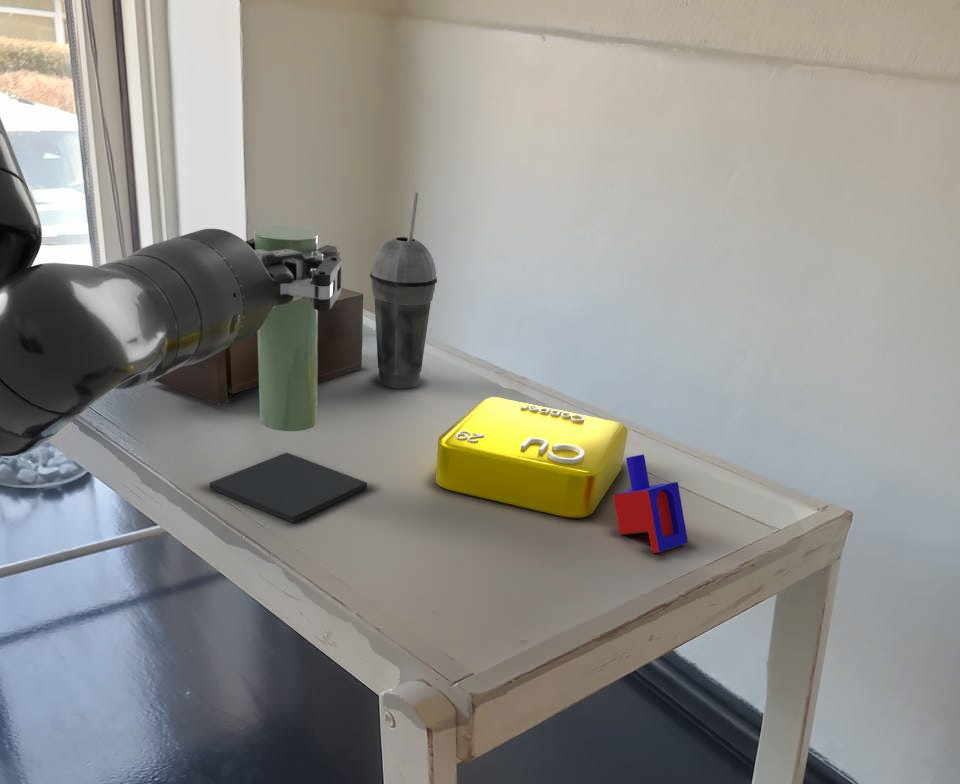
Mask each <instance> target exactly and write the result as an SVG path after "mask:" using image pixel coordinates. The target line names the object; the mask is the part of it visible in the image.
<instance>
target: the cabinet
mask: <svg viewBox="0 0 960 784" xmlns="http://www.w3.org/2000/svg"><path fill="white" fill-rule="evenodd" d="M363 323H364V293H362V292H359V291H355V290H351V289H347V288H344V287H341V294H340V296H339V297H338V299H337V300H336V302H335V303H334V305H333V306H332V307H331V309H330V310H326V311H319V310H318V384H321V383H323V382H328V381H329V380H333V379H336V378H338V377H342V376H345V375H349V374H351V373H354V372H357V371H360V370H362V367H363V329H364V328H363V325H364V324H363Z"/></svg>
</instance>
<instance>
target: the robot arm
mask: <svg viewBox="0 0 960 784" xmlns="http://www.w3.org/2000/svg"><path fill="white" fill-rule="evenodd" d="M20 166H21V165H20V163H19V161H18V158H17V156H16V153H15V151H14V148H13V145H12V143H11V140H10V138H9V136H8V133H7V130H6V128H5V126H4V124H3V121H2V118H1V117H0V457H1V458H2V457H6V458H7V457H9V458H10V457H17V456H21V455H25V454H27V453H30V452H32V451H34V450H35V449H38V448H39V447H41V446H42V445H44V444H45V443H47V441H49V440H50V439H51V438H53V437H54V435H56V434H57V433H58V432H60V431H61V430H62V429H63V428H64V427H65V426H67V425H68V424H69V423H71V422H72V421H73V420H74V419H76V418H77V417H78V416H79V415H81V414H83V412H85V411H86V410H87V409H88V408H89V407H91V406H92V405H94V404H95V403H96V402H97V401H98V400H100V399H101V398H103V397H104V396H106V395H107V394H108V393H110V392H111V391H113V390H129V389H134V388H137V387H142V386H144V385H147V384H149V383H151V382H153V381H154V380H156V379H158V378H160V377H162V376H164V375H166V374H168V373H170V372H172V371H174V370H176V369H178V368H180V367H184V366H188V365H192V364H196V363H198V362H200V361H203V360H205V359H207V358H209V357H211V356H213V355H215V354H217V353H219V352H221V351H223V350H225V349H227V348H229V347H230V346H232V345H234V344H236V343H238V342H240V341H242V340H244V339H246V338H248V337H250V336H252V335H253V334H254V333H256V332H257V331H258V330H259V329H260V327H261V326H262V325H263V323H264V322H265V320H266V318H267V316H268V315H269V313H270V311H271V309H273V308H275V307H276V305H282V304H287V303H290V302H291V301H296V300H300V299H302V298H303V297H306V298H310V303H311V304H313V308H314V309H316V310H319V311H326V310H330V309H331V307H332V306H333V305H334V303H335V302H336V300H337V299H338V297H339V296H340V294H341V288H342V273H343V272H342V270H343V269H342V267H343V266H342V263H343V260H342V258H341V252H338V247H337V246H336V245H328V244H326V245H324V246H322V247H318V249H316V250H314V251H311V252H308V253H302V252H299V251H295V250H292V249H282V250H275V251H265V250H261V249H258V250H255V246H254V237H253V238H250V239H248V240H244V239H243V238H241V237H239V236H238V235H236V234H235V233H232V232H230V231H228V230H224V229H220V228H203V229H199V230H195V231H192V232H188V233H185V234H183V235H179V236H176V237H173V238H170V239H166V240H163V241H160V242H156V243H153V244H150V245H147V246H144V247H142V248H140V249H138V250H135V251H134V252H133V253H131V254H130V255H128V256H125V257H123V258H120V259H116V260H113V261H110V262H106V263H103V264H100V265H96V266H94V265H87V264H77V263H75V264H74V263H63V262H44V263H38V264H35V265H33V264H34V263H35V261H36V258H37V256H38V254H39V252H40V249H41V247H42V241H43V229H42V228H43V227H42V223H41V219H40V216H39V213H38V209H37V207H36V203H35V202H34V199H33V196H32V194H31V191H30V189H29V186H28V184H27V181H26V178H25V176H24V173H23V171H22V168H21V167H20ZM283 262H285V264H284V263H283ZM306 264H307V278H306V279H304V266H305V265H306ZM154 382H155V381H154Z"/></svg>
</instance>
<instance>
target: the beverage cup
mask: <svg viewBox="0 0 960 784" xmlns="http://www.w3.org/2000/svg"><path fill="white" fill-rule="evenodd" d="M418 201H419V192H416V191H413V195H412V203H411V210H410V218H409V225H408V226H409V227H408V234H407V236H398V237H394V238H392V239H389V240H388V241H386V242H385V243H383V245H381V247H380V248H379V249H378V251H377V252H376V254H375V256H374V259H373V261H372V265H371V272H370V275H369V277H370V279H371V290H372V295H373V297H374V298H373V299H374V318H375V337H376V357H377V368H378V376H379V378H378V379H379V380H378V381H379V383H380V385H383V386H385V387H388V388H393V389H413V388H416V387H418V386H419V383H420V377H421V372H422V367H423V361H424V360H423V359H424V353H425V346H426V339H427V332H428V324H429V317H430V311H431V310H430V309H431V303H432V301H433V298H434V294H435V291H436V284H437V283H438V277H437V269H436V263H435V259H434V258H433V255H432V253H431V252H430V251H429V249H428V247H426V246H425V245H424V244H423V243H422V242H420V241H419V240H417V239H415V238H414V231H415V225H416V217H417V208H418Z"/></svg>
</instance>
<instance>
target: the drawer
mask: <svg viewBox="0 0 960 784" xmlns="http://www.w3.org/2000/svg"><path fill="white" fill-rule="evenodd" d="M154 382H156V383H159V384H162V385H165V386H168V387H170V388H173V389H175V390H178V391H180V392H183V393H186V394H189V395H192V396H195V397H199V398H201V399H203V400H205V401H209V402H212V403H214V404H217V405H222V404H225V403H227V402H228V400H229V399H228V394H230V395H233V394H236V393H240V392H243V391H246V390H249V389H253V388H256V387H259V381H258V347H257V332H256V333H254V334H253V335H252V336H250V337H248V338H246V339H244V340H242V341H240V342H238V343H236V344H234V345H232V346H230V347H229V348H227V349H225V350H223V351H221V352H219V353H217V354H215V355H213V356H211V357H209V358H207V359H205V360H203V361H200V362H198V363H196V364H192V365H188V366H184V367H180V368H178V369H176V370H174V371H172V372H170V373H168V374H166V375H164V376H162V377H160V378H158V379H156V380H154Z"/></svg>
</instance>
